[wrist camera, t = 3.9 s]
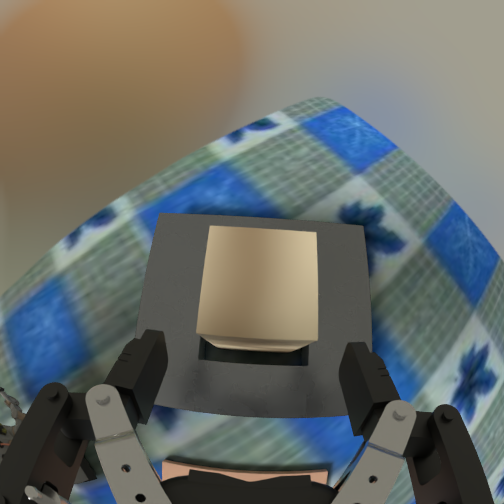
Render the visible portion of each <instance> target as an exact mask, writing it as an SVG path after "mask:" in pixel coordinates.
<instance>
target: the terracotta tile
mask: <svg viewBox="0 0 504 504" xmlns="http://www.w3.org/2000/svg"><path fill="white" fill-rule="evenodd" d="M190 469H193V470H199V471H206V472H215V473H221V474H224V475H227V476H230V477H234V478H237V479H241V480H244V481H249V482H252V481H258V480H264V479H269V478H274V477H278V476H293V475H310V476H311V481H315V482H319V483H322V484H325V485H326V482H327V475H328V471H327V470H326V469H321V470H307V471H245V470H231V469H221V468H212V467H205V466H198V465H191V464H185V463H180V462H175V461H170V460H164V461H163V462H162V481H164V480H167V479H169V478H173V477H177V476H184V475H189V470H190Z"/></svg>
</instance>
